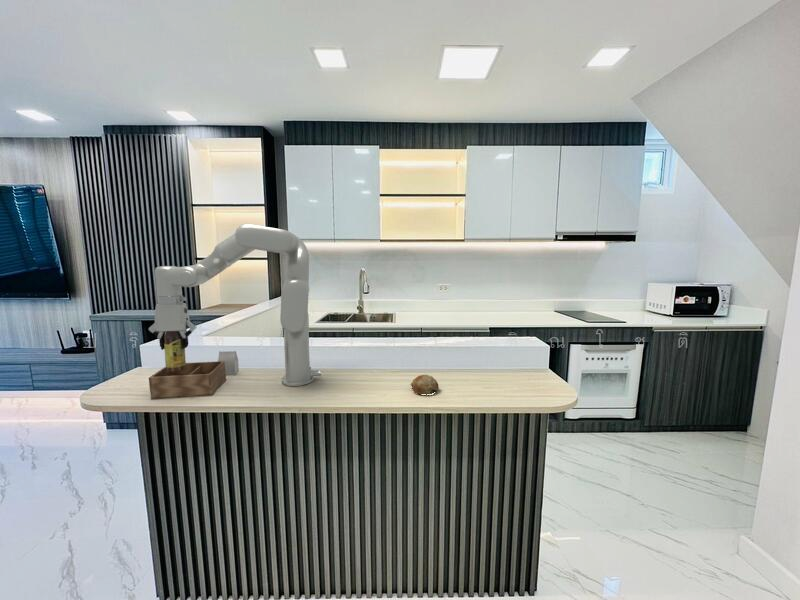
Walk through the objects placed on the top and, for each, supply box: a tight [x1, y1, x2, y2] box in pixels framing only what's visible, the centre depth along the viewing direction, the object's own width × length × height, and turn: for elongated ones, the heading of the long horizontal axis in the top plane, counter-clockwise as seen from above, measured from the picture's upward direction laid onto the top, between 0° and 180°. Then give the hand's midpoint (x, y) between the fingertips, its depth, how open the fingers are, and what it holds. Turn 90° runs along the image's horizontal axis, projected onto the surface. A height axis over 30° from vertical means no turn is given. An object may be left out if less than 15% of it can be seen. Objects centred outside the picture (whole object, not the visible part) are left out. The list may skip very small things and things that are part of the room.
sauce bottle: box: [163, 331, 187, 372], centre depth 123 cm, size 7×6×20 cm
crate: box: [148, 360, 227, 400], centre depth 126 cm, size 20×15×8 cm
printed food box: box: [217, 350, 240, 376], centre depth 142 cm, size 4×7×10 cm, turn 94°
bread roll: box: [410, 374, 440, 395], centre depth 126 cm, size 10×10×8 cm
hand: (174, 347), depth 124 cm, fingers closed on sauce bottle, 6 cm apart
